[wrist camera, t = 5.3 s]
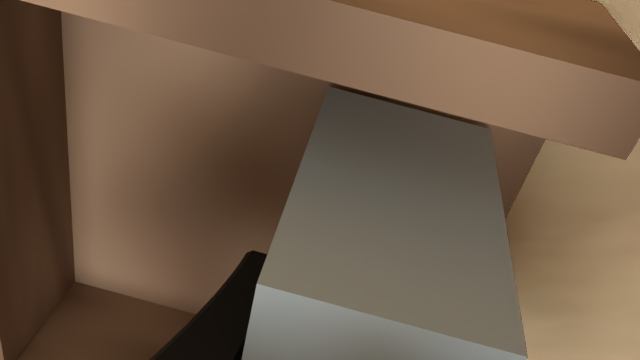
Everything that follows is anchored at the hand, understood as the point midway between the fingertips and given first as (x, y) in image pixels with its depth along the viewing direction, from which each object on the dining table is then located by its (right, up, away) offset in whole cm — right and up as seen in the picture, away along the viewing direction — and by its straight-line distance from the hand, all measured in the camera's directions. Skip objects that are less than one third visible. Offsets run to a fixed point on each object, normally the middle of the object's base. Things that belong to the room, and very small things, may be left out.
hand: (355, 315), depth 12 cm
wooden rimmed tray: (-2, +3, +3) cm, 5 cm away
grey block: (0, +1, +2) cm, 3 cm away
